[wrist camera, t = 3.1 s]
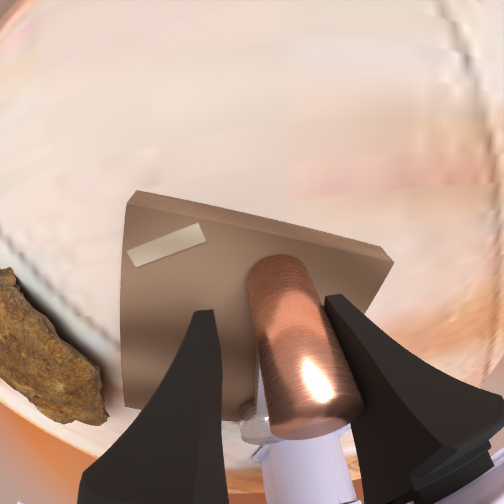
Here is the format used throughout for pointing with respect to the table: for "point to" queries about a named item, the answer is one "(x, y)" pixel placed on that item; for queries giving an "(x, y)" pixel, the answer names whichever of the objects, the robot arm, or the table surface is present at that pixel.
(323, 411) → the lever
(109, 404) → the table surface
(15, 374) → the decorative rock
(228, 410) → the board
